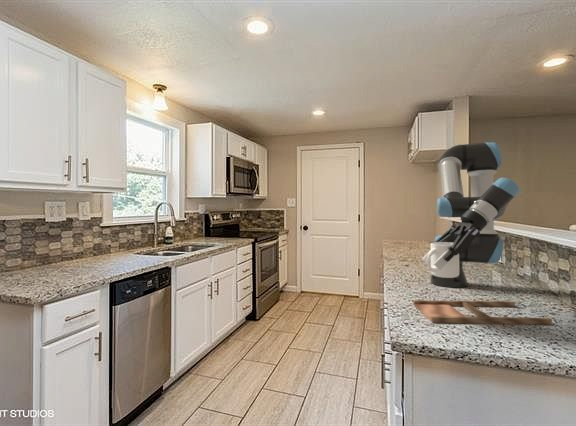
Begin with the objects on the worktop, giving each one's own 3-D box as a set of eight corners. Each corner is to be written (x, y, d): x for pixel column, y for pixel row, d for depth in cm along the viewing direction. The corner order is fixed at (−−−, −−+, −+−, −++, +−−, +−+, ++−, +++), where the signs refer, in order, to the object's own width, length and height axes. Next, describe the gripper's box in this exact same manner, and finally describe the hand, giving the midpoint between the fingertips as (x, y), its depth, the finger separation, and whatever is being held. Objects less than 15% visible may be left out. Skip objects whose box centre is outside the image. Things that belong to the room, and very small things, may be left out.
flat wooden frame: (513, 305, 113) (512, 301, 113) (551, 324, 95) (551, 319, 95) (413, 304, 116) (413, 300, 116) (432, 322, 97) (432, 317, 97)
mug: (417, 275, 107) (417, 244, 107) (443, 271, 112) (443, 241, 111) (438, 280, 99) (437, 247, 99) (465, 276, 104) (465, 243, 103)
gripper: (453, 208, 116) (410, 252, 117) (489, 208, 95) (437, 262, 95) (468, 222, 116) (425, 266, 117) (507, 225, 95) (454, 279, 95)
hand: (430, 264), depth 106 cm, fingers closed on mug, 9 cm apart
